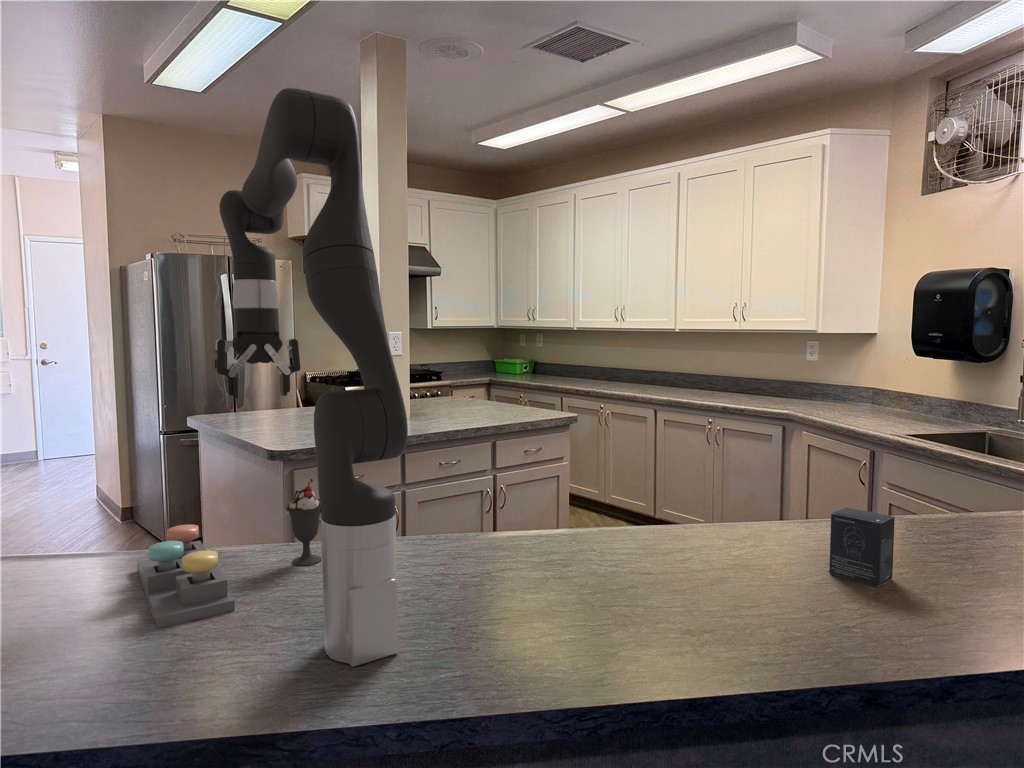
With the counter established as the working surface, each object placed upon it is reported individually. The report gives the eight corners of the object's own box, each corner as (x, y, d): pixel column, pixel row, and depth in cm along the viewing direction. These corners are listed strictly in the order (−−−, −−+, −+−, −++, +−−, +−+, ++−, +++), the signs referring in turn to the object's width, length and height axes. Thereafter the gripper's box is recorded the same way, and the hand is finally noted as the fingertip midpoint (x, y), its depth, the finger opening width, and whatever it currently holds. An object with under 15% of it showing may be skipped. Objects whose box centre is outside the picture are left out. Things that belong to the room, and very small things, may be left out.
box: (892, 579, 106) (896, 516, 105) (878, 588, 102) (881, 522, 101) (843, 566, 112) (845, 505, 111) (827, 574, 108) (830, 511, 107)
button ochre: (221, 584, 96) (220, 557, 96) (186, 591, 93) (184, 564, 93) (215, 574, 100) (214, 548, 100) (180, 581, 97) (179, 554, 97)
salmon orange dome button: (202, 553, 109) (200, 529, 109) (169, 559, 107) (168, 535, 106) (196, 545, 113) (195, 522, 113) (165, 551, 110) (164, 527, 110)
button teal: (186, 572, 101) (185, 547, 100) (151, 579, 98) (150, 553, 98) (181, 563, 105) (180, 538, 104) (147, 570, 102) (146, 544, 102)
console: (234, 610, 95) (233, 583, 95) (157, 628, 89) (155, 600, 89) (201, 558, 116) (200, 536, 116) (137, 570, 111) (136, 547, 110)
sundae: (320, 568, 112) (317, 482, 110) (281, 567, 112) (278, 481, 110) (331, 554, 118) (329, 473, 117) (294, 554, 118) (292, 473, 117)
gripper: (217, 305, 109) (221, 401, 110) (302, 306, 117) (305, 396, 118) (208, 306, 115) (212, 397, 117) (290, 307, 123) (293, 393, 125)
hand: (259, 396), depth 118 cm, fingers open, 8 cm apart
